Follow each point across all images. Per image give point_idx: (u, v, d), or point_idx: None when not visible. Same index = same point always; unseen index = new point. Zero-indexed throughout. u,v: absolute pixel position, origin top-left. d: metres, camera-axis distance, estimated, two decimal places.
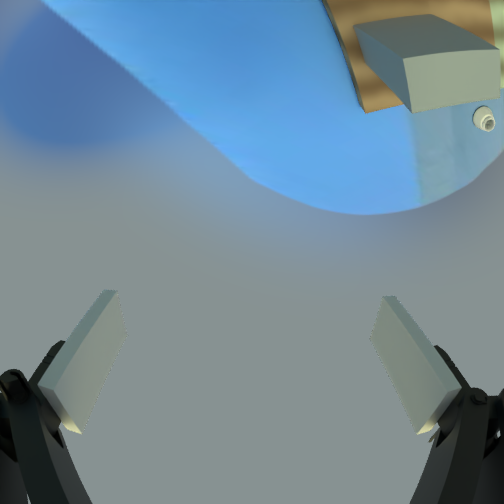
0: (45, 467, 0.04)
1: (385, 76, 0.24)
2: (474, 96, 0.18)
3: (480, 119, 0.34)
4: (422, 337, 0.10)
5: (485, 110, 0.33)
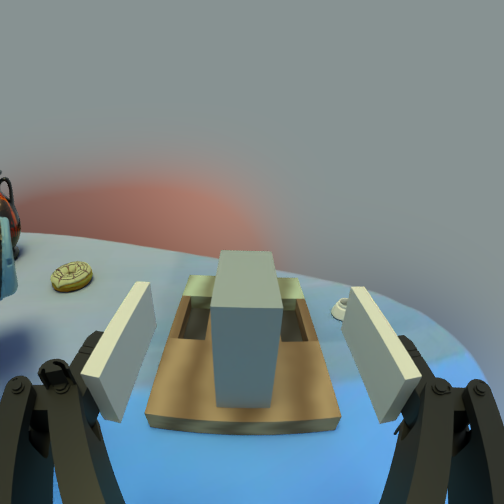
0: (82, 461, 0.05)
1: (262, 362, 0.26)
2: (267, 266, 0.31)
3: (344, 312, 0.49)
4: (386, 326, 0.11)
5: (334, 309, 0.51)
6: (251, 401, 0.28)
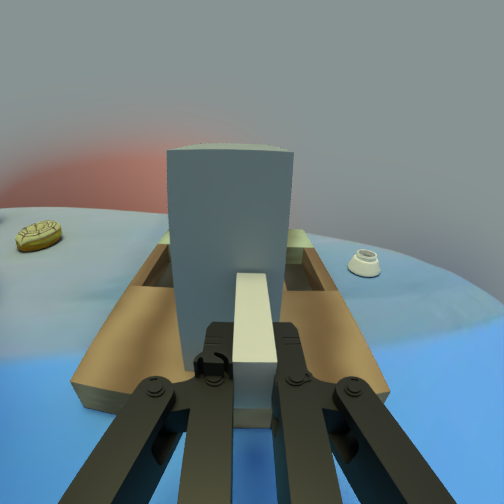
0: (219, 460, 0.06)
1: None
2: None
3: (365, 264, 0.38)
4: (265, 310, 0.12)
5: (351, 263, 0.40)
6: None
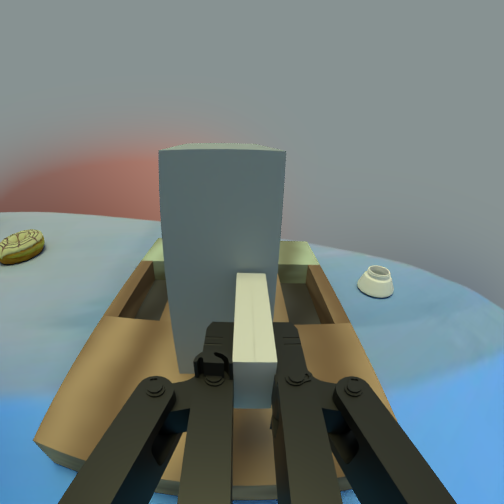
0: (219, 460, 0.06)
1: None
2: None
3: (377, 284, 0.33)
4: (265, 310, 0.12)
5: (362, 281, 0.35)
6: None
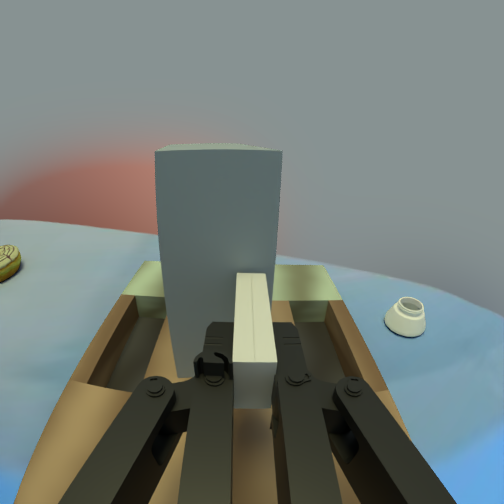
0: (219, 460, 0.06)
1: None
2: None
3: (410, 321, 0.26)
4: (265, 310, 0.12)
5: (391, 317, 0.27)
6: None
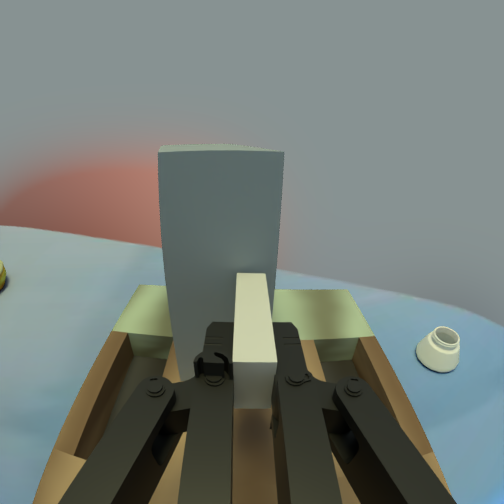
0: (219, 460, 0.06)
1: None
2: (232, 145, 0.20)
3: (445, 356, 0.20)
4: (265, 310, 0.12)
5: (424, 351, 0.22)
6: None
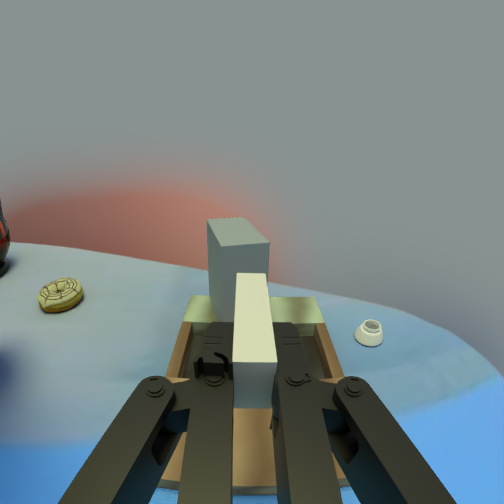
0: (219, 460, 0.06)
1: None
2: (246, 224, 0.42)
3: (370, 336, 0.41)
4: (265, 310, 0.12)
5: (358, 333, 0.43)
6: None
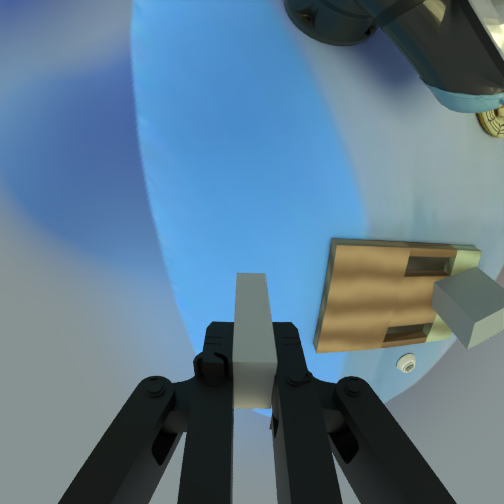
0: (219, 460, 0.06)
1: (451, 323, 0.41)
2: (497, 330, 0.35)
3: (403, 364, 0.56)
4: (265, 310, 0.12)
5: (410, 357, 0.56)
6: (435, 302, 0.47)
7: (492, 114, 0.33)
